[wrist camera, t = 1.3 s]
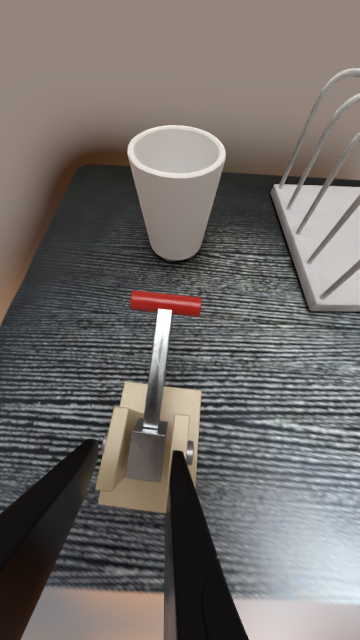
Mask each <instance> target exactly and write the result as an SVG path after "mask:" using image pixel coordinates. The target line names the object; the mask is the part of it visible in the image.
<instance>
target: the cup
mask: <svg viewBox="0 0 360 640" xmlns="http://www.w3.org/2000/svg"><path fill="white" fill-rule="evenodd" d="M225 153H226V151H225V149H224V146H223V145H222V143H221V142H220V141H219V140H218V139H217V138H216V137H215V136H213V135H212V134H210V133H209V132H206V131H203V130H201V129H197V128H193V127H189V126H179V125H166V126H160V127H155V128H152V129H148V130H146V131H144V132H142V133H140V134H138V135H137V136H136V137H134V138H133V139H132V140H131V141H130V143H129V146H128V157H129V162H130V166H131V169H132V173H133V177H134V181H135V185H136V189H137V193H138V197H139V201H140V205H141V209H142V213H143V217H144V221H145V225H146V229H147V233H148V237H149V240H150V244H151V247H152V249H153V250H154V252H155V253H156V254H157V255H159V256H161V257H162V258H163V259H165V260H166V261H167V262H173V261H177V260H184V259H191V258H193V257H194V256H195V254H196V253H197V252H198V250H199V249H200V247H201V244H202V240H203V237H204V233H205V230H206V226H207V222H208V219H209V215H210V212H211V208H212V205H213V201H214V197H215V194H216V190H217V187H218V183H219V180H220V176H221V172H222V169H223V165H224V162H225V155H226V154H225Z"/></svg>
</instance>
